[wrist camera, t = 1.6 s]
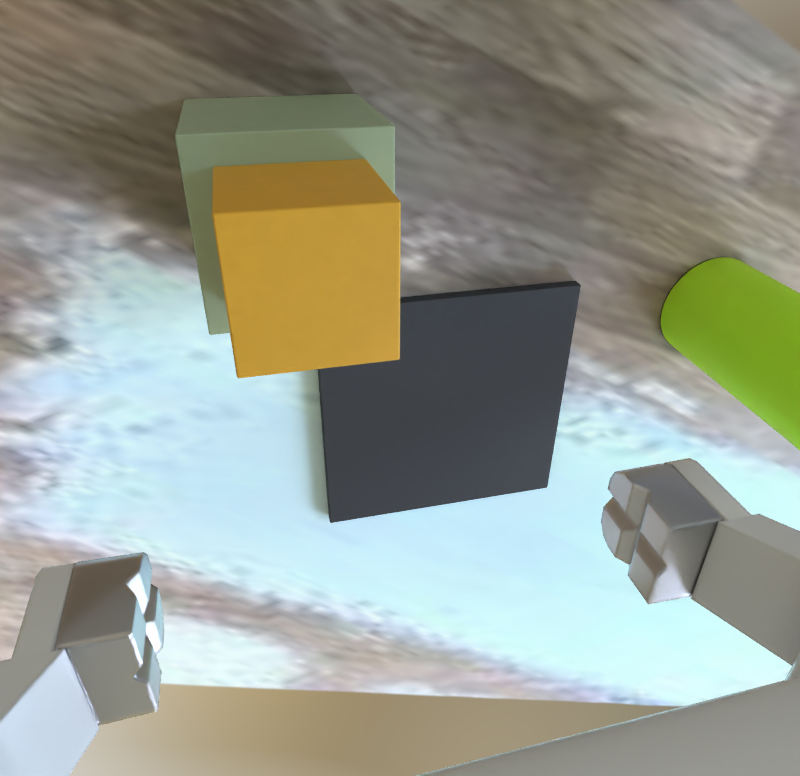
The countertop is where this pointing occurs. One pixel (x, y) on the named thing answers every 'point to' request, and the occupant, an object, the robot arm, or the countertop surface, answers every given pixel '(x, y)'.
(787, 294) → the soap dispenser
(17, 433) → the countertop surface
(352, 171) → the top cube
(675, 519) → the robot arm
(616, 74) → the countertop surface
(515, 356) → the mat
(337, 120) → the base block
